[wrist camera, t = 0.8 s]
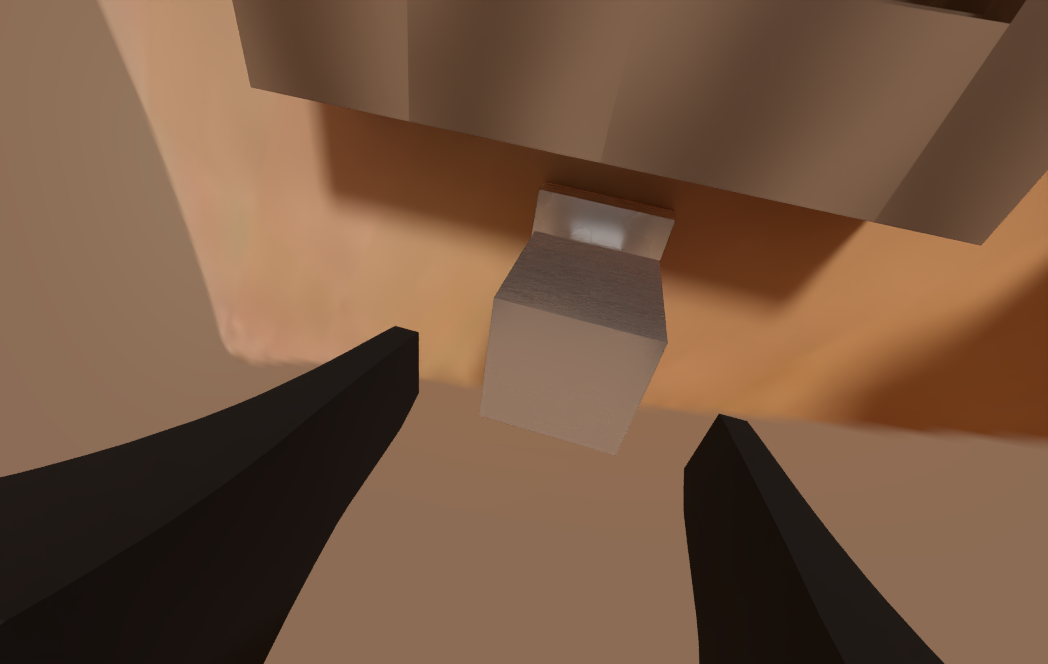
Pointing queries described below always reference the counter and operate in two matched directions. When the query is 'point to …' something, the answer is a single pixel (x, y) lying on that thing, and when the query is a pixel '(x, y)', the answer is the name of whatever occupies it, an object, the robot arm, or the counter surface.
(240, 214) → the counter surface
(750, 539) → the robot arm
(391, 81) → the keyhole plate
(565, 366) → the keyed peg
